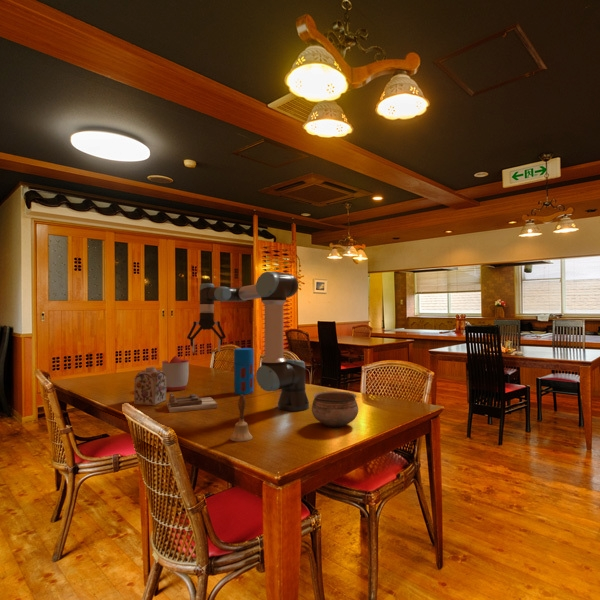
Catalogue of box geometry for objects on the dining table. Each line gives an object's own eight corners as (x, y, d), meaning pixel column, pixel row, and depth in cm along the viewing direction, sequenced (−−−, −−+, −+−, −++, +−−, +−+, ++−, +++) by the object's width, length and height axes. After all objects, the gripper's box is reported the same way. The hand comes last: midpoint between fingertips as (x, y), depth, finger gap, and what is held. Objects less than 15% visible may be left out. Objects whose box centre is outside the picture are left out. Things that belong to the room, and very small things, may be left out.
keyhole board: (217, 408, 192) (217, 397, 192) (169, 412, 184) (169, 401, 184) (211, 401, 207) (211, 391, 207) (166, 405, 198) (166, 394, 198)
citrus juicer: (181, 385, 251) (181, 353, 251) (193, 389, 238) (193, 355, 238) (156, 388, 241) (156, 355, 241) (167, 393, 227) (167, 358, 228)
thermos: (257, 392, 229) (257, 348, 229) (245, 395, 220) (245, 350, 220) (242, 390, 235) (242, 347, 235) (230, 393, 225) (230, 349, 226)
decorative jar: (154, 405, 198) (154, 369, 198) (133, 404, 200) (133, 368, 200) (167, 400, 209) (167, 366, 210) (147, 399, 212) (147, 365, 212)
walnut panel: (201, 403, 191) (201, 394, 191) (171, 406, 186) (171, 396, 186) (197, 398, 202) (197, 389, 202) (169, 401, 197) (169, 392, 197)
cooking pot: (337, 438, 146) (336, 404, 147) (297, 428, 158) (297, 397, 159) (370, 422, 166) (370, 393, 166) (333, 415, 178) (332, 388, 178)
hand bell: (253, 434, 151) (253, 392, 151) (251, 441, 143) (251, 397, 143) (231, 434, 151) (231, 392, 151) (228, 442, 142) (228, 397, 143)
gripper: (228, 312, 222) (228, 350, 222) (182, 312, 213) (181, 352, 213) (231, 312, 215) (230, 351, 215) (183, 312, 206) (182, 353, 206)
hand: (206, 351), depth 214 cm, fingers open, 13 cm apart
